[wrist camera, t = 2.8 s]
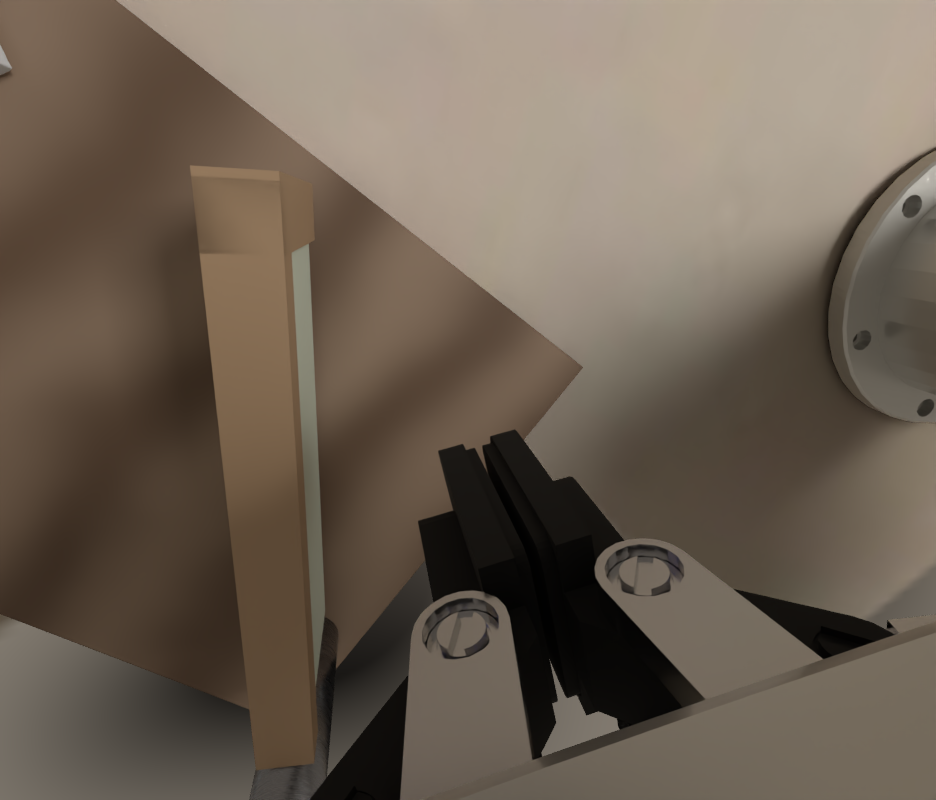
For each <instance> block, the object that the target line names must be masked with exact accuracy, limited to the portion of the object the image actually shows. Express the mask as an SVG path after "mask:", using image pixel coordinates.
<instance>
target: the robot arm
mask: <svg viewBox="0 0 936 800" xmlns="http://www.w3.org/2000/svg"><path fill="white" fill-rule="evenodd" d="M828 338H829V343H830V348H831V354H832V359H833V362H834V364H835V366H836V369H837V371H838V373H839V375H840V378H841V380H842V381H843V382H844V384H845V385H846V386H847V388H848V389H849V390H850V392H851V393H852V394H853V395H854V396H855V397H856V398H858V399H859V400H860V401H862V402H863V403H864V404H865V405H867V406H868V407H870V408H872V409H875V410H877V411H879V412H882V413H884V414H886V415H888V416H891V417H893V418H897V419H901V420H905V421H908V422H914V423H936V150H935V151H934V152H932V153H930V154H928V155H926V156H925V157H923V158H922V159H920V160H919V161H918V162H917V163H915V164H914V165H913V166H912V167H910V168H909V169H908V170H907V171H905V172H904V173H903V174H901V175H900V176H899V177H898V178H897V179H896V180H895V181H894V182H893V183H892V184H891V185H890V186H889V188H888V189H887V190H886V191H885V192H884V193H883V194H882V195H881V196H880V197H879V198H878V199H877V200H876V202H875V203H874V205H873V206H872V207H871V209H870V210H869V212H868V213H867V214H866V216H865V217H864V219H863V220H862V221H861V223H860V224H859V226H858V227H857V229H856V231H855V233H854V235H853V237H852V239H851V241H850V243H849V245H848V247H847V249H846V251H845V253H844V254H843V257H842V260H841V263H840V266H839V269H838V272H837V275H836V277H835V280H834V283H833V289H832V294H831V300H830V305H829V311H828ZM482 449H483V454H484V459H485V463H486V468H487V471H486V469H485V467H484V465H483V463H482V461H481V459H480V457H479V455H478V453H477V451H476V449H475V448H471V449H468V450H466V449H465V447H464V445H463V444H460V445H457V446H453V447H450V448H446V449H442V450H439V451H438V454H439V458H440V462H441V466H442V469H443V473H444V477H445V481H446V485H447V489H448V493H449V497H450V500H451V504H452V508H453V511H450V512H446V513H443V514H439V515H436V516H433V517H429V518H426V519H422V520H419V521H418V525H419V530H420V535H421V540H422V546H423V551H424V556H425V561H426V566H427V571H428V576H429V581H430V587H431V591H432V597H433V602H434V603H432V604H431V605H430V606H429V607H428V608H426V609H425V610H424V611H423V612H422V613H421V615H420V616H419V618H418V619H417V621H416V623H415V624H414V628H413V632H412V636H411V648H410V649H411V650H410V663H409V675H408V676H407V677H406V679H405V680H404V681H403V682H402V684H401V685H400V686H399V687H398V689H397V690H396V691H395V692H394V694H393V695H392V696H391V697H390V699H389V700H388V701H387V702H386V704H385V705H384V706H383V707H382V709H381V710H380V711H379V712H378V714H377V715H376V716H375V718H374V719H373V720H372V721H371V722H370V724H369V725H368V726H367V728H366V729H365V730H364V731H363V733H362V734H361V735H360V737H359V738H358V739H357V740H356V742H355V743H354V744H353V745H352V746H351V748H350V749H349V750H348V751H347V753H346V754H345V756H344V757H343V758H342V759H341V760H340V762H339V763H338V764H337V765H336V767H335V768H334V769H333V771H332V772H331V773H330V774H329V775H328V777H327V778H326V779H325V780H324V782H323V783H322V784H321V785H320V787H319V788H318V789H317V790H316V792H315V793H314V794H313V796H312V797H311V798H310V799H309V800H936V614H934V615H925V616H916V617H909V618H899V619H890V620H887V629H884V628H882V627H880V626H878V625H876V624H874V623H872V622H869V621H865V620H862V619H859V618H856V617H853V616H849V615H845V614H840V613H836V612H831V611H827V610H823V609H818V608H814V607H810V606H805V605H801V604H796V603H792V602H788V601H783V600H779V599H775V598H770V597H766V596H762V595H757V594H753V593H748V592H744V591H740V590H735V589H732V588H731V587H730V586H728V585H727V584H726V583H725V582H723V581H722V580H721V579H719V578H718V577H717V576H716V575H714V574H713V573H712V572H710V571H709V570H708V569H707V568H705V567H704V566H703V565H701V564H700V563H699V562H698V561H696V560H695V559H694V558H692V557H691V556H690V555H688V554H687V553H686V552H685V551H683V550H682V549H680V548H678V547H676V546H675V545H673V544H671V543H668V542H664V541H661V540H658V539H648V538H638V539H628V540H625V541H624V540H623V538H622V537H621V536H620V535H619V533H618V532H617V531H616V530H615V528H614V527H613V526H612V525H611V523H610V522H609V521H608V520H607V519H606V517H605V516H604V515H603V514H602V512H601V511H600V510H599V509H598V507H597V506H596V505H595V504H594V502H593V501H592V500H591V499H590V497H589V496H588V495H587V494H586V493H585V491H584V490H583V489H582V488H581V486H580V485H579V484H578V483H577V481H576V480H575V479H574V478H573V477H566V478H563V479H559V480H556V481H553V480H552V479H551V478H550V476H549V475H548V473H547V472H546V471H545V469H544V468H543V467H542V465H541V464H540V462H539V461H538V460H537V458H536V457H535V455H534V454H533V453H532V451H531V450H530V449H529V447H528V446H527V444H526V443H525V442H524V440H523V439H522V437H521V436H520V435H519V433H518V432H517V431H516V430H515V429H514V430H511V431H507V432H503V433H500V434H496V435H493V436H490V443H489V444H486V445H482ZM487 472H488V473H487ZM549 659H550V660H549ZM550 661H551V664H552V666H553V668H554V671H555V673H556V675H557V678H558V680H559V682H560V685H561V687H562V689H563V692H564V694H565V696H566V697H567V698H569V697H572V696H574V695H577V696H578V697H579V700H580V702H581V705H582V707H583V709H584V711H585V713H586V715H589V714H592V713H595V712H598V711H599V712H602V713H604V714H607V715H609V716H612V717H615V718H617V721H618V727H619V729H620V730H617V731H615V732H612V733H609V734H606V735H604V736H600V737H597V738H595V739H592V740H589V741H586V742H583V743H581V744H577V745H575V746H572V747H569V748H566V749H563V750H560V751H557V752H555V753H552V754H549V755H546V756H543V757H542V754H541V752H542V750H543V748H544V746H545V744H546V742H547V740H548V738H549V736H550V734H551V732H552V730H553V728H554V726H555V724H556V720H555V715H554V710H553V706H552V703H554V702H557V700H558V699H557V694H556V689H555V684H554V679H553V674H552V669H551V665H550Z"/></svg>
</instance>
